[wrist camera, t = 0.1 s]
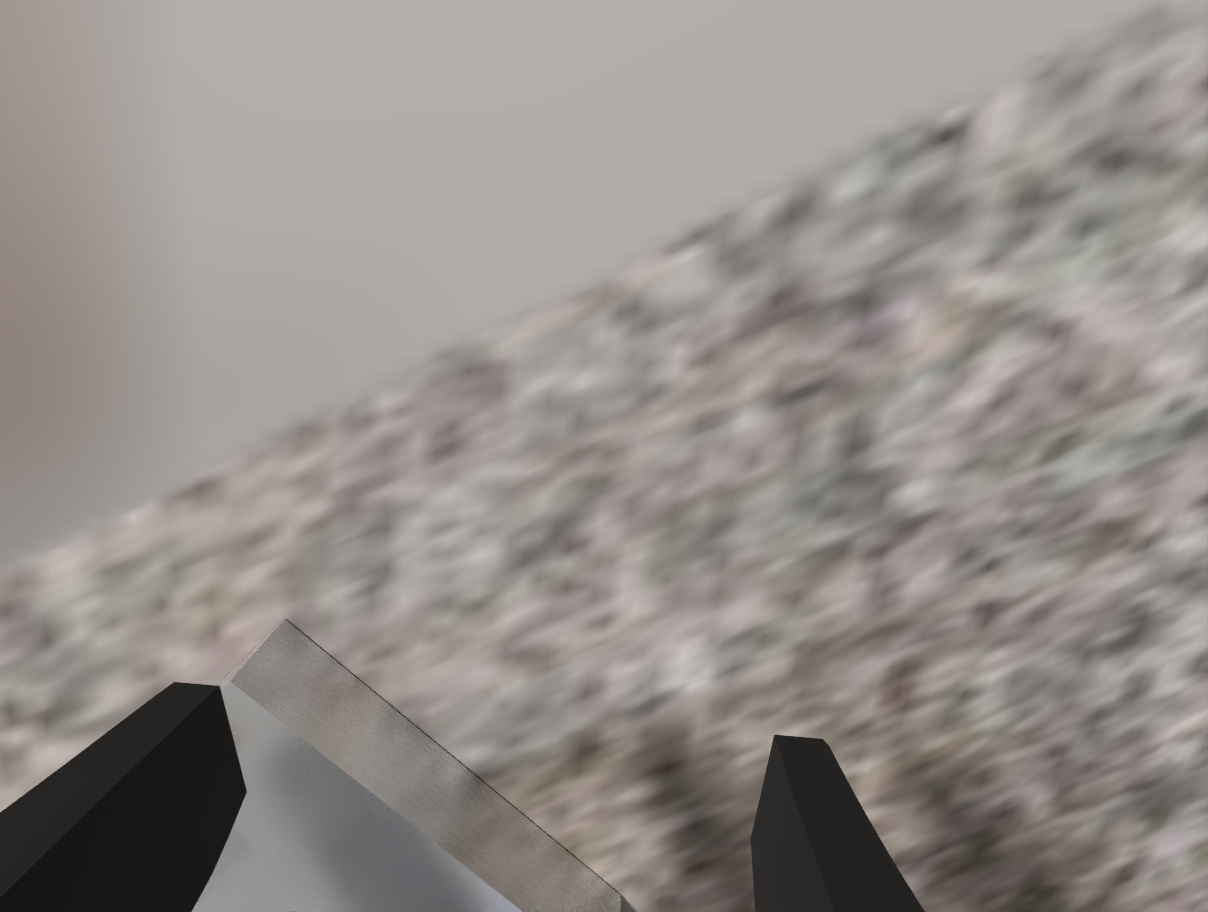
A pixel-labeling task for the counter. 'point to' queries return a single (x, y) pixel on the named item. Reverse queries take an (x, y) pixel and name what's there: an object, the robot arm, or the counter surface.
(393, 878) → the base block
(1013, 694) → the counter surface
